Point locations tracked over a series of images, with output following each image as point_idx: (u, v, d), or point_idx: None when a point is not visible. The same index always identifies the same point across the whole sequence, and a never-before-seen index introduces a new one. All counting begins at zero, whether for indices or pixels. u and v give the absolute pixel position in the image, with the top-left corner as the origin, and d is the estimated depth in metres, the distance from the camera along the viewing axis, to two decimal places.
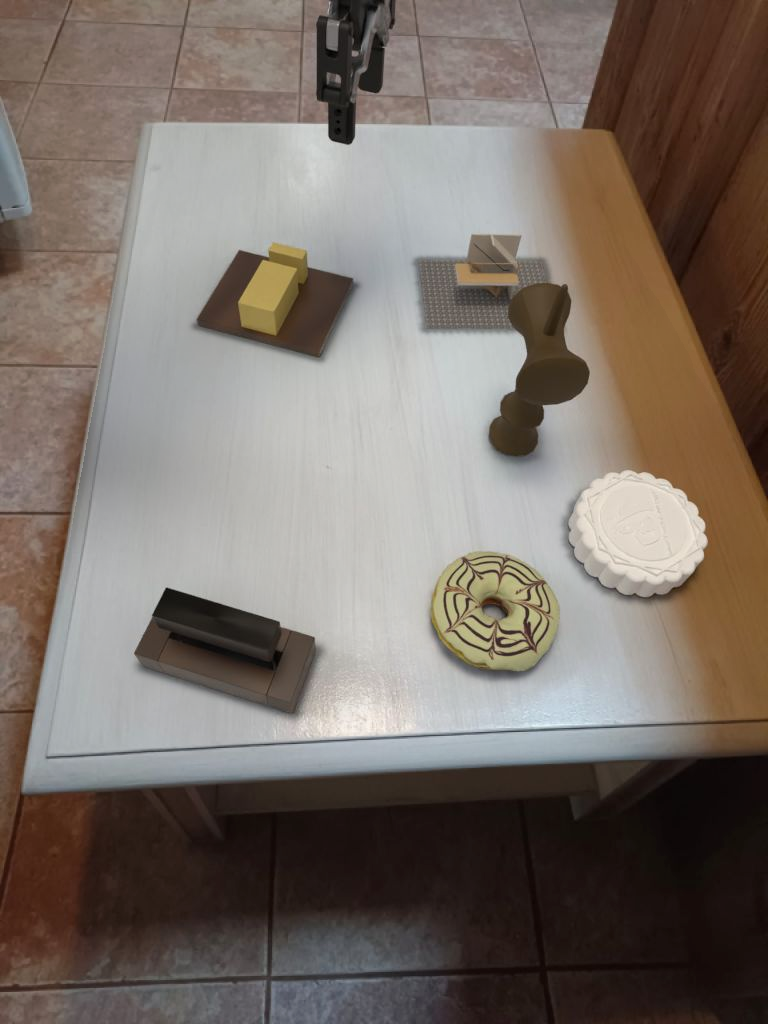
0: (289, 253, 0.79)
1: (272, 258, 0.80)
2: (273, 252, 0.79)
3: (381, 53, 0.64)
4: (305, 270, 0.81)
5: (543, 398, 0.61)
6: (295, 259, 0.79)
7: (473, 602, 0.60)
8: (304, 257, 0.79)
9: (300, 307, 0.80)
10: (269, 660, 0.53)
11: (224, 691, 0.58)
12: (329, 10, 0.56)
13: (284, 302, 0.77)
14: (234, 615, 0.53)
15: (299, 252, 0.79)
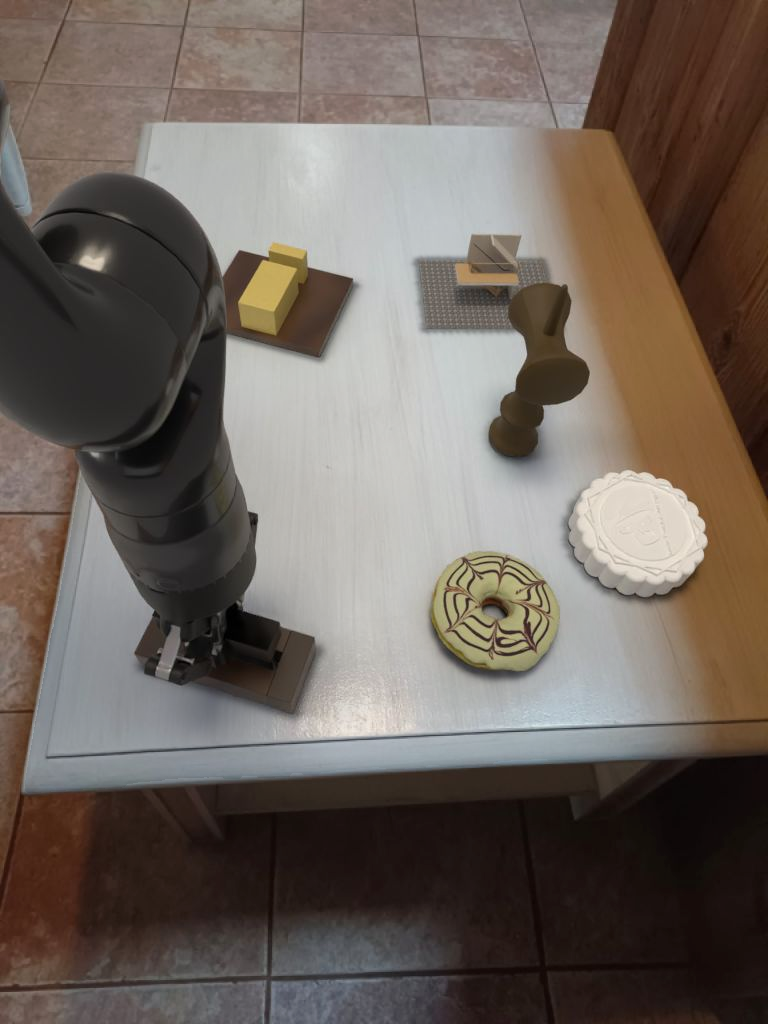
0: (289, 253, 0.79)
1: (272, 258, 0.80)
2: (273, 252, 0.79)
3: None
4: (305, 270, 0.81)
5: (543, 398, 0.61)
6: (295, 259, 0.79)
7: (473, 602, 0.60)
8: (304, 257, 0.79)
9: (300, 307, 0.80)
10: (269, 660, 0.53)
11: (224, 691, 0.58)
12: None
13: (284, 302, 0.77)
14: (234, 615, 0.53)
15: (299, 252, 0.79)
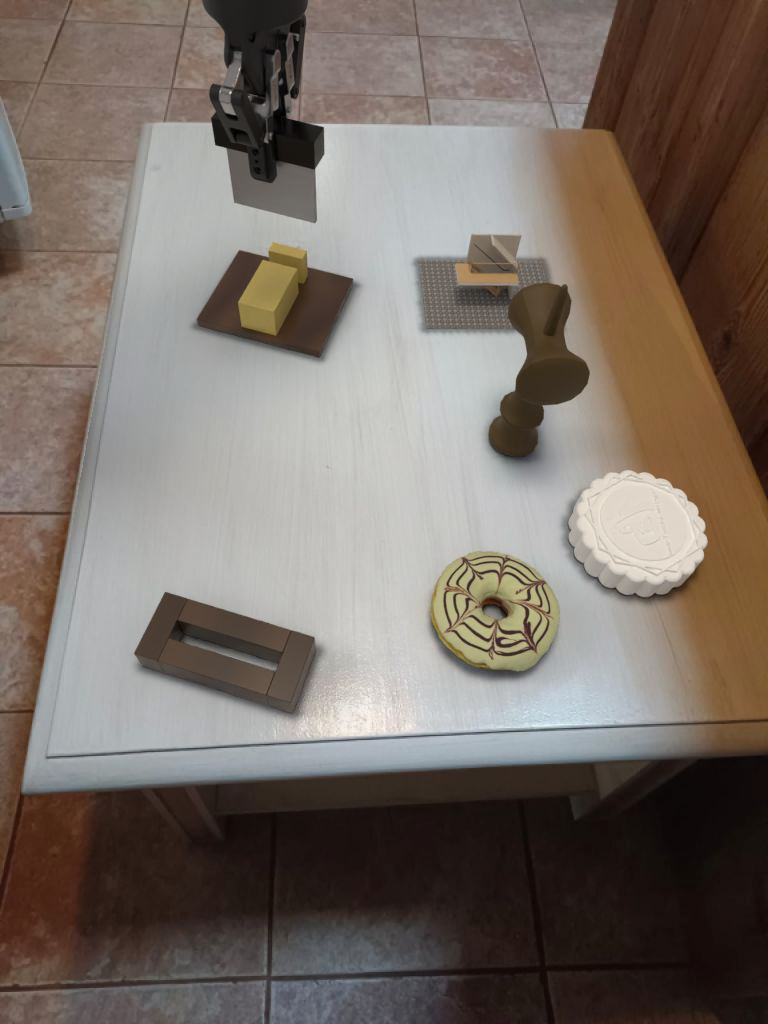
0: (289, 253, 0.79)
1: (272, 258, 0.80)
2: (273, 252, 0.79)
3: None
4: (305, 270, 0.81)
5: (543, 398, 0.61)
6: (295, 259, 0.79)
7: (473, 602, 0.60)
8: (304, 257, 0.79)
9: (300, 307, 0.80)
10: (313, 165, 0.60)
11: (224, 691, 0.58)
12: None
13: (284, 302, 0.77)
14: (283, 121, 0.59)
15: (299, 252, 0.79)
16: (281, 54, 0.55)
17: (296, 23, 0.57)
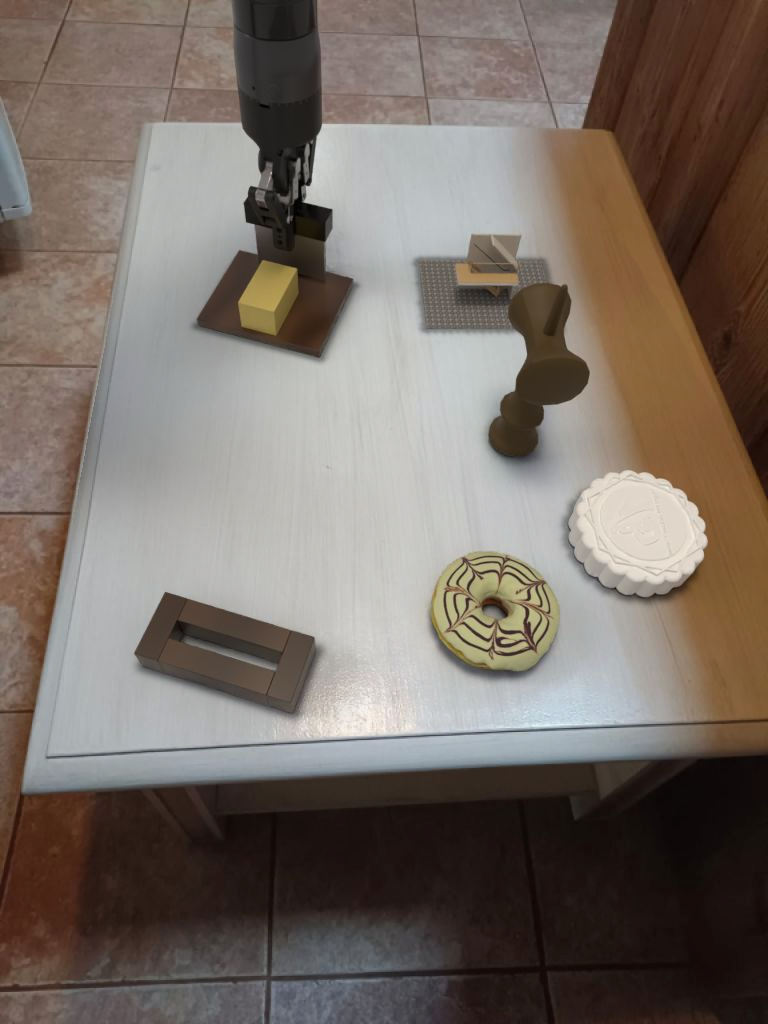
0: None
1: None
2: None
3: None
4: None
5: (543, 398, 0.61)
6: None
7: (473, 602, 0.60)
8: None
9: (300, 307, 0.80)
10: (324, 239, 0.76)
11: (224, 691, 0.58)
12: None
13: (284, 302, 0.77)
14: (300, 204, 0.76)
15: None
16: (300, 158, 0.71)
17: None
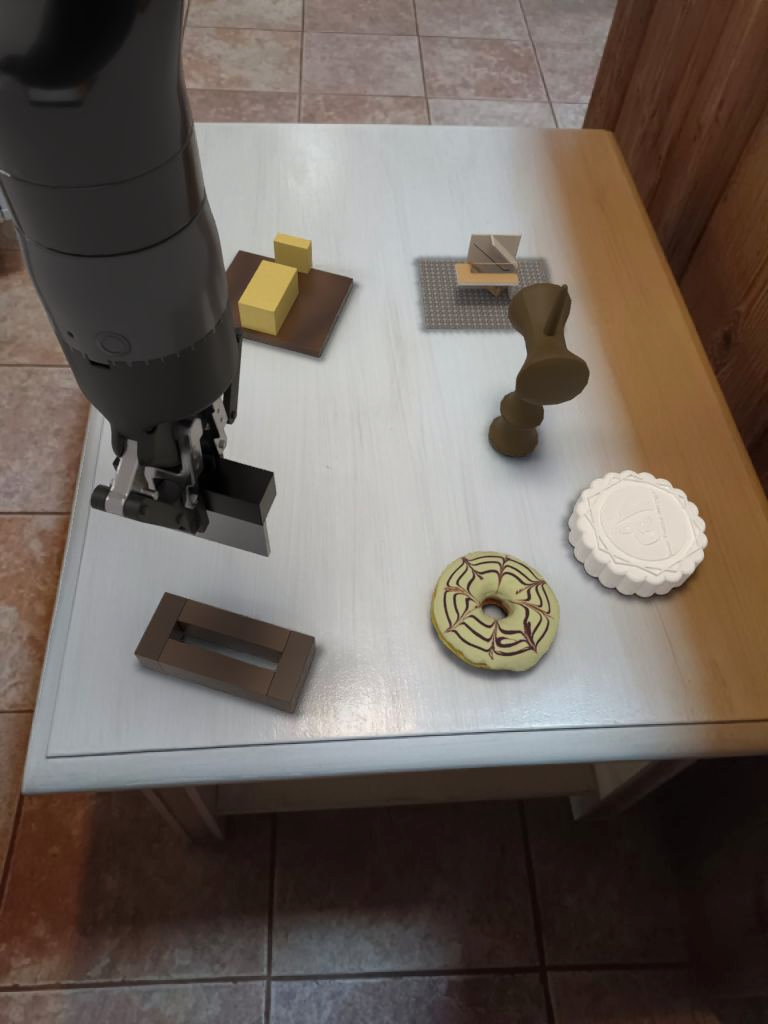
0: (294, 243, 0.80)
1: (277, 248, 0.81)
2: (278, 242, 0.80)
3: None
4: (310, 260, 0.82)
5: (543, 398, 0.61)
6: (300, 249, 0.80)
7: (473, 602, 0.60)
8: (309, 247, 0.80)
9: (300, 307, 0.80)
10: (261, 522, 0.42)
11: (224, 691, 0.58)
12: None
13: (284, 302, 0.77)
14: (216, 464, 0.42)
15: (304, 242, 0.80)
16: None
17: None
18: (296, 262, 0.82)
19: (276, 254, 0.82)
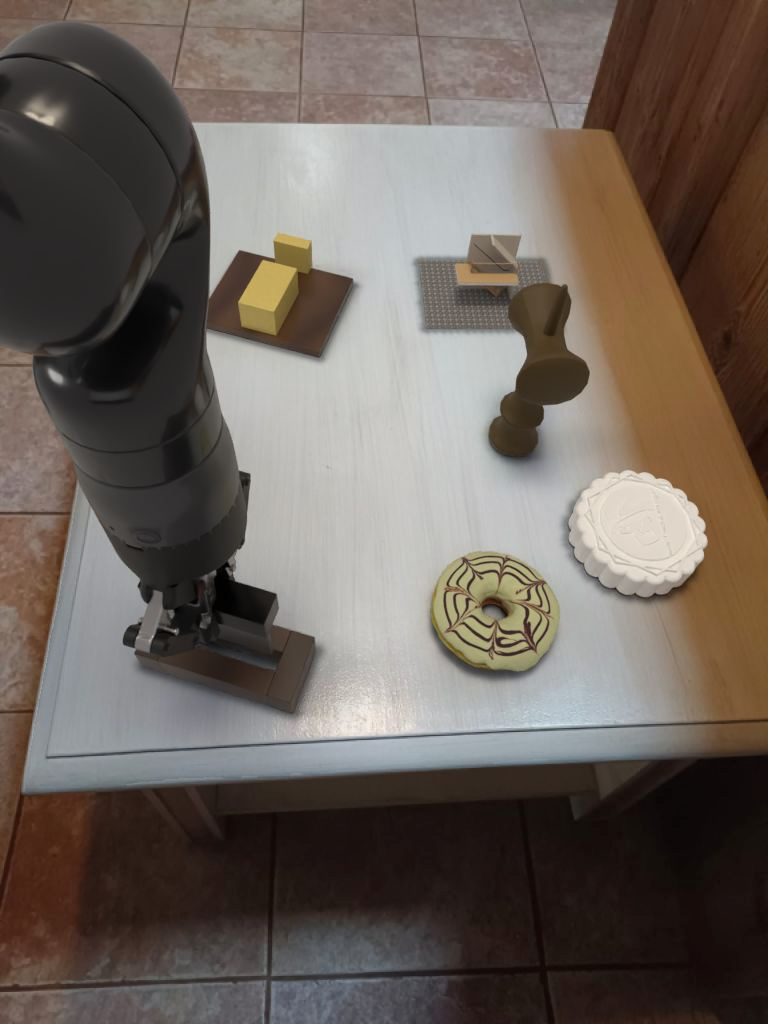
0: (294, 243, 0.80)
1: (277, 248, 0.81)
2: (278, 242, 0.80)
3: None
4: (310, 260, 0.82)
5: (543, 398, 0.61)
6: (300, 249, 0.80)
7: (473, 602, 0.60)
8: (309, 247, 0.80)
9: (300, 307, 0.80)
10: (265, 636, 0.49)
11: (224, 691, 0.58)
12: None
13: (284, 302, 0.77)
14: (227, 586, 0.48)
15: (304, 242, 0.80)
16: None
17: None
18: (296, 262, 0.82)
19: (276, 254, 0.82)
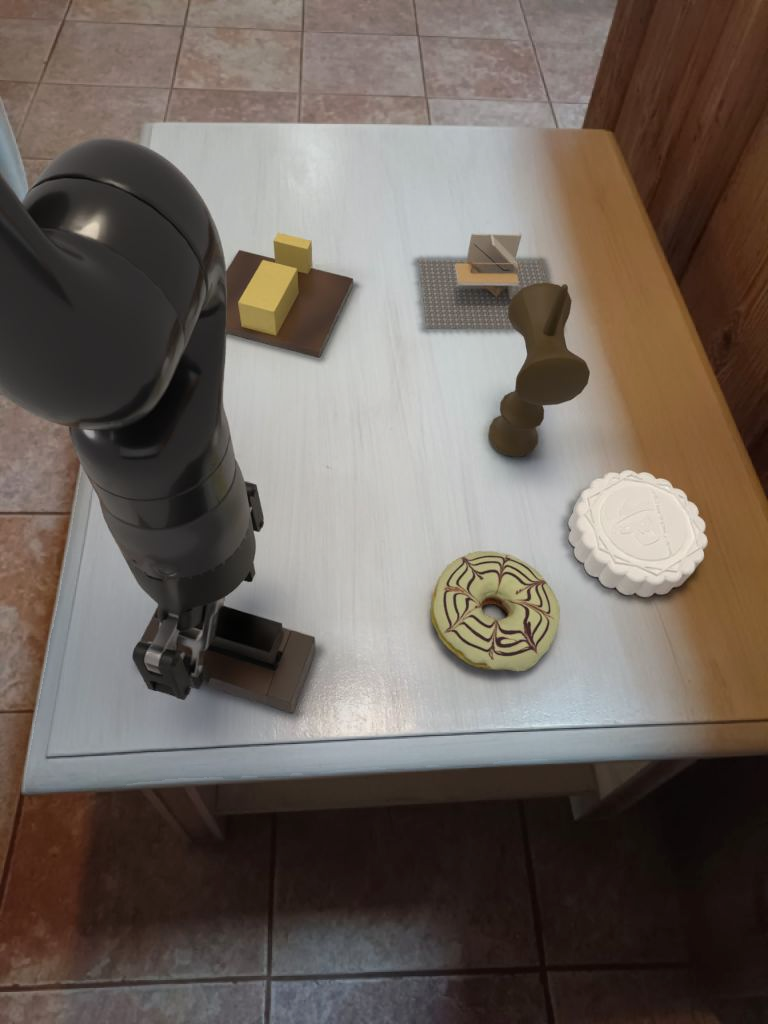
0: (294, 243, 0.80)
1: (277, 248, 0.81)
2: (278, 242, 0.80)
3: None
4: (310, 260, 0.82)
5: (543, 398, 0.61)
6: (300, 249, 0.80)
7: (473, 602, 0.60)
8: (309, 247, 0.80)
9: (300, 307, 0.80)
10: (271, 662, 0.53)
11: (224, 691, 0.58)
12: None
13: (284, 302, 0.77)
14: (236, 617, 0.53)
15: (304, 242, 0.80)
16: None
17: None
18: (296, 262, 0.82)
19: (276, 254, 0.82)
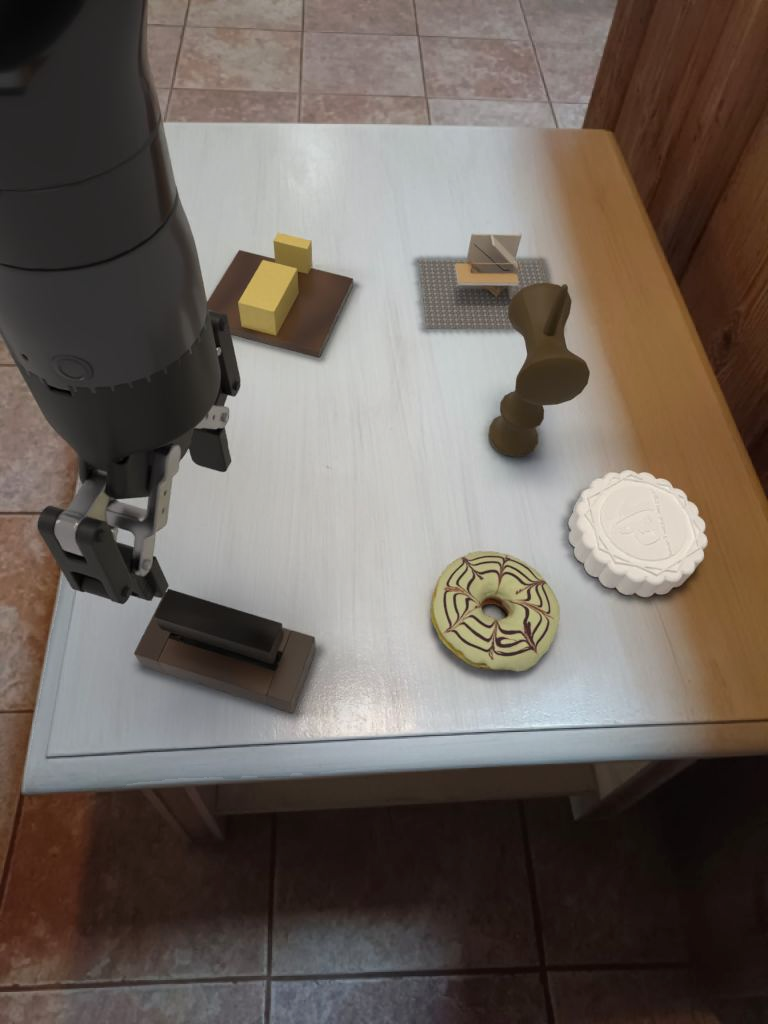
0: (294, 243, 0.80)
1: (277, 248, 0.81)
2: (278, 242, 0.80)
3: (217, 437, 0.40)
4: (310, 260, 0.82)
5: (543, 398, 0.61)
6: (300, 249, 0.80)
7: (473, 602, 0.60)
8: (309, 247, 0.80)
9: (300, 307, 0.80)
10: (271, 662, 0.53)
11: (224, 691, 0.58)
12: None
13: (284, 302, 0.77)
14: (236, 617, 0.53)
15: (304, 242, 0.80)
16: None
17: None
18: (296, 262, 0.82)
19: (276, 254, 0.82)
